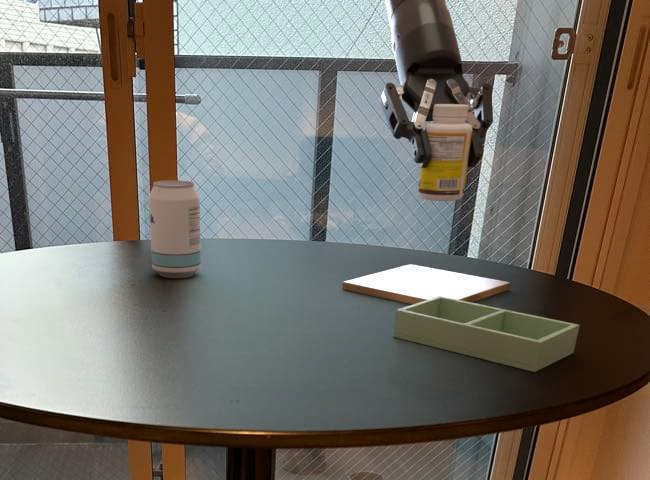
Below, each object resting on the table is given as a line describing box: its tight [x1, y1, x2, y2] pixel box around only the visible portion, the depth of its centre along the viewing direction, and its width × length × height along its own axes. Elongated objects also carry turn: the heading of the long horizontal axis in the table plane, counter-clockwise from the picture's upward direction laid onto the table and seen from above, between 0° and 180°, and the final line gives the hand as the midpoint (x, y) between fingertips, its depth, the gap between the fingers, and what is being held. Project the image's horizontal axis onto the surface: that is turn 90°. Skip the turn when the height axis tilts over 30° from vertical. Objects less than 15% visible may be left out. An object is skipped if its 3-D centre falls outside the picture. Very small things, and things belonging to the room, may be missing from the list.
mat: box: [341, 263, 511, 305], centre depth 108 cm, size 16×16×1 cm
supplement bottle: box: [417, 104, 472, 202], centre depth 97 cm, size 6×6×10 cm
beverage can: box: [148, 180, 202, 279], centre depth 111 cm, size 7×7×12 cm
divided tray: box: [393, 296, 580, 373], centre depth 86 cm, size 9×17×3 cm, turn 46°
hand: (450, 162), depth 96 cm, fingers closed on supplement bottle, 5 cm apart
